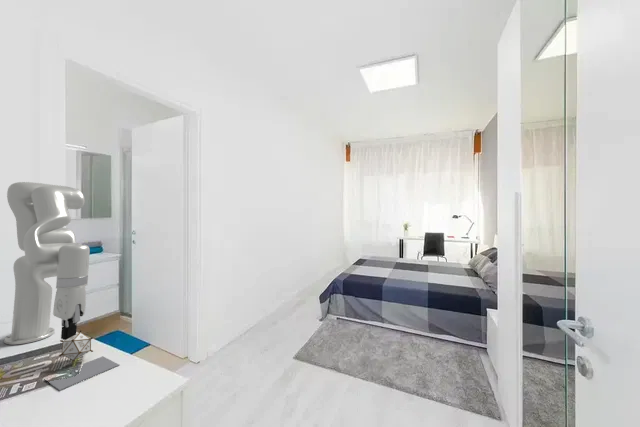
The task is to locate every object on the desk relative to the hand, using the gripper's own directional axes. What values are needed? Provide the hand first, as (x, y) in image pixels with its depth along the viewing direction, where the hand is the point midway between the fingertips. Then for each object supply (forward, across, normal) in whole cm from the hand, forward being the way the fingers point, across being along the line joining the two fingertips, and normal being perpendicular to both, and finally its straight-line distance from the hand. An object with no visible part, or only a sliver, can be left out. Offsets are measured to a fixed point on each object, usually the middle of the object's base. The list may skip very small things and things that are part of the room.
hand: (68, 337), depth 84 cm
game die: (+6, +2, 0) cm, 6 cm away
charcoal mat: (+7, +14, -1) cm, 15 cm away
